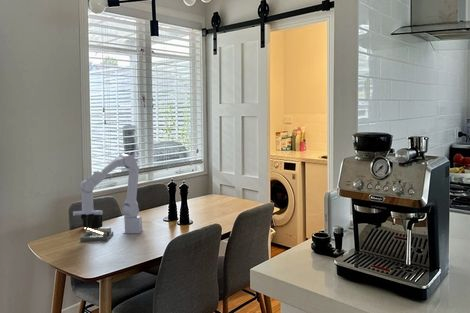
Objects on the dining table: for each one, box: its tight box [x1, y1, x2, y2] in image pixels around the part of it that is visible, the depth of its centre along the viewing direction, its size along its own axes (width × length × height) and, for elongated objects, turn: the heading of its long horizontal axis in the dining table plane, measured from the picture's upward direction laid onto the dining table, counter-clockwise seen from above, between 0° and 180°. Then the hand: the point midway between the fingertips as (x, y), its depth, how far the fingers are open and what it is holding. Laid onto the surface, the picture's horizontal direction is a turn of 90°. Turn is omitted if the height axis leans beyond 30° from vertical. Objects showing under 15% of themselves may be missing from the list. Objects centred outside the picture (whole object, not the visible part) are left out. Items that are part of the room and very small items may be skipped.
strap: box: [83, 227, 108, 236], centre depth 215 cm, size 12×2×1 cm, turn 91°
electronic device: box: [82, 214, 103, 230], centre depth 239 cm, size 4×10×10 cm, turn 78°
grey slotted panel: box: [80, 226, 114, 243], centre depth 218 cm, size 14×11×4 cm
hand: (88, 228), depth 215 cm, fingers closed
